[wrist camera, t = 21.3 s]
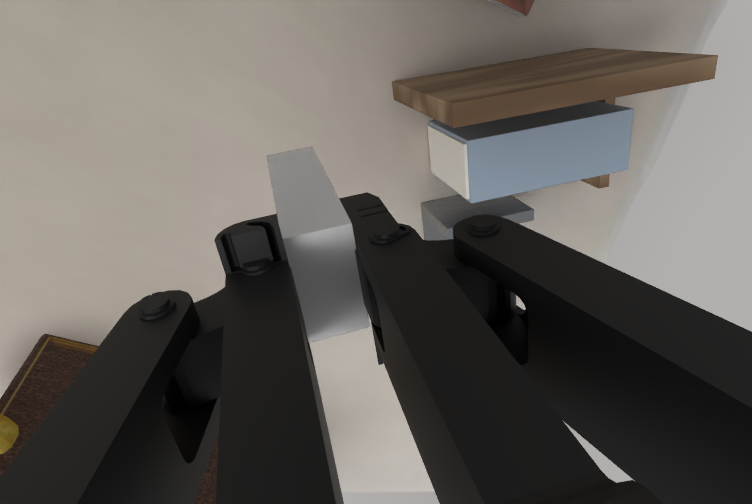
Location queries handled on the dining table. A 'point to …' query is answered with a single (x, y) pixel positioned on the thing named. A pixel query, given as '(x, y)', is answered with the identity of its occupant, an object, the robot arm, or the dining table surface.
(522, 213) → the bookend
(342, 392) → the dining table surface
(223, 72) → the dining table surface
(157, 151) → the dining table surface
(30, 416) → the book
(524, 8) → the picture frame
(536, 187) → the boxed book
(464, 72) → the shelf
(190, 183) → the dining table surface
